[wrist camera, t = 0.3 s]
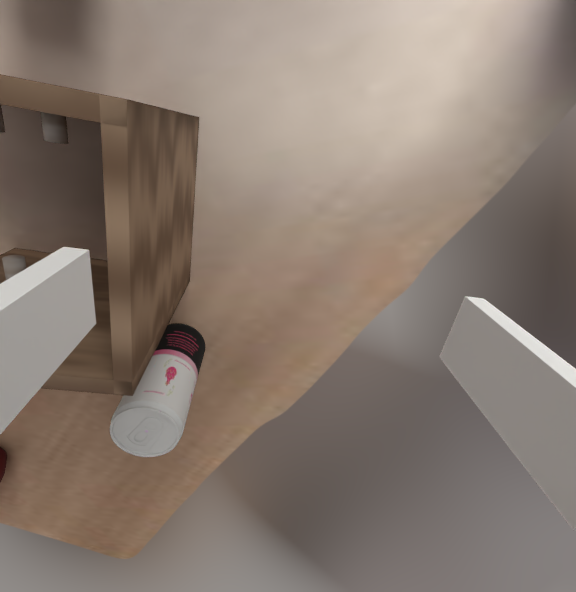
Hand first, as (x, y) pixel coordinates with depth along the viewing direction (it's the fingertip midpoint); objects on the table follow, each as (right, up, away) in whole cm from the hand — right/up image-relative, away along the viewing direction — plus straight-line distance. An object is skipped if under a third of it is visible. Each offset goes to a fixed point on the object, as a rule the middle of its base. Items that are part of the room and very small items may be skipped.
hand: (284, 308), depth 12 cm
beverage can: (-14, -6, +33) cm, 36 cm away
